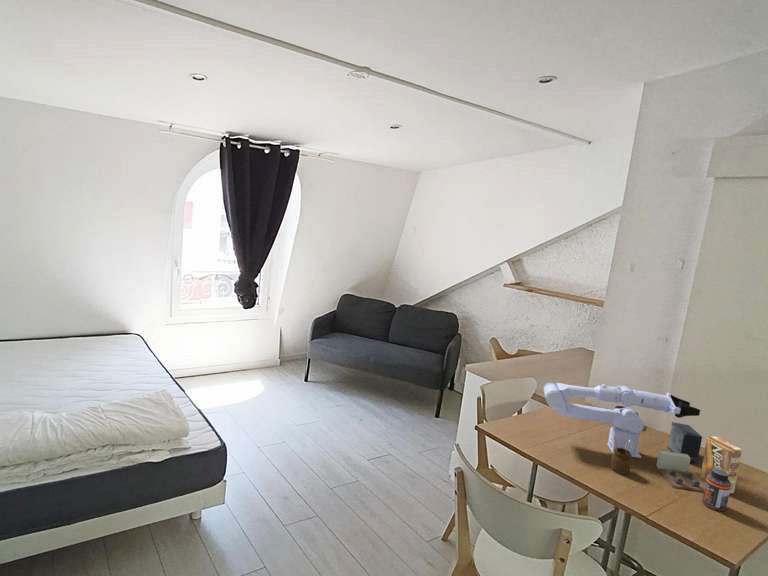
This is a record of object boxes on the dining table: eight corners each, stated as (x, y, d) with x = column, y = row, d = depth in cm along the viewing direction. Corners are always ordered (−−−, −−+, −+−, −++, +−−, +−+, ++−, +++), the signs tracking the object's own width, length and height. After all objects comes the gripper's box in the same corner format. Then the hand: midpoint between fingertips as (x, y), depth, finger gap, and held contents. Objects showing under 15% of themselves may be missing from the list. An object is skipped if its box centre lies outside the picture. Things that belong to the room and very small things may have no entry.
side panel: (672, 487, 141) (673, 479, 141) (658, 470, 151) (660, 463, 150) (713, 493, 139) (714, 486, 138) (697, 476, 149) (698, 469, 148)
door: (659, 469, 151) (662, 453, 151) (656, 466, 154) (659, 450, 153) (687, 474, 150) (690, 457, 149) (684, 470, 152) (687, 454, 151)
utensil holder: (631, 476, 146) (637, 443, 144) (611, 472, 147) (616, 439, 146) (627, 467, 151) (632, 435, 149) (607, 463, 153) (612, 431, 151)
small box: (698, 464, 157) (703, 436, 156) (679, 461, 158) (683, 434, 157) (685, 449, 167) (689, 424, 166) (666, 447, 169) (670, 421, 167)
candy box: (734, 493, 140) (743, 449, 137) (724, 494, 139) (732, 450, 136) (708, 477, 148) (716, 435, 146) (698, 478, 147) (706, 436, 145)
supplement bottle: (696, 499, 135) (703, 465, 133) (714, 499, 136) (721, 466, 134) (712, 512, 129) (719, 477, 127) (731, 512, 130) (738, 477, 128)
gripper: (662, 396, 151) (706, 404, 148) (647, 384, 165) (687, 392, 162) (658, 415, 151) (702, 424, 148) (643, 402, 166) (683, 410, 163)
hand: (694, 408), depth 155 cm, fingers open, 7 cm apart
